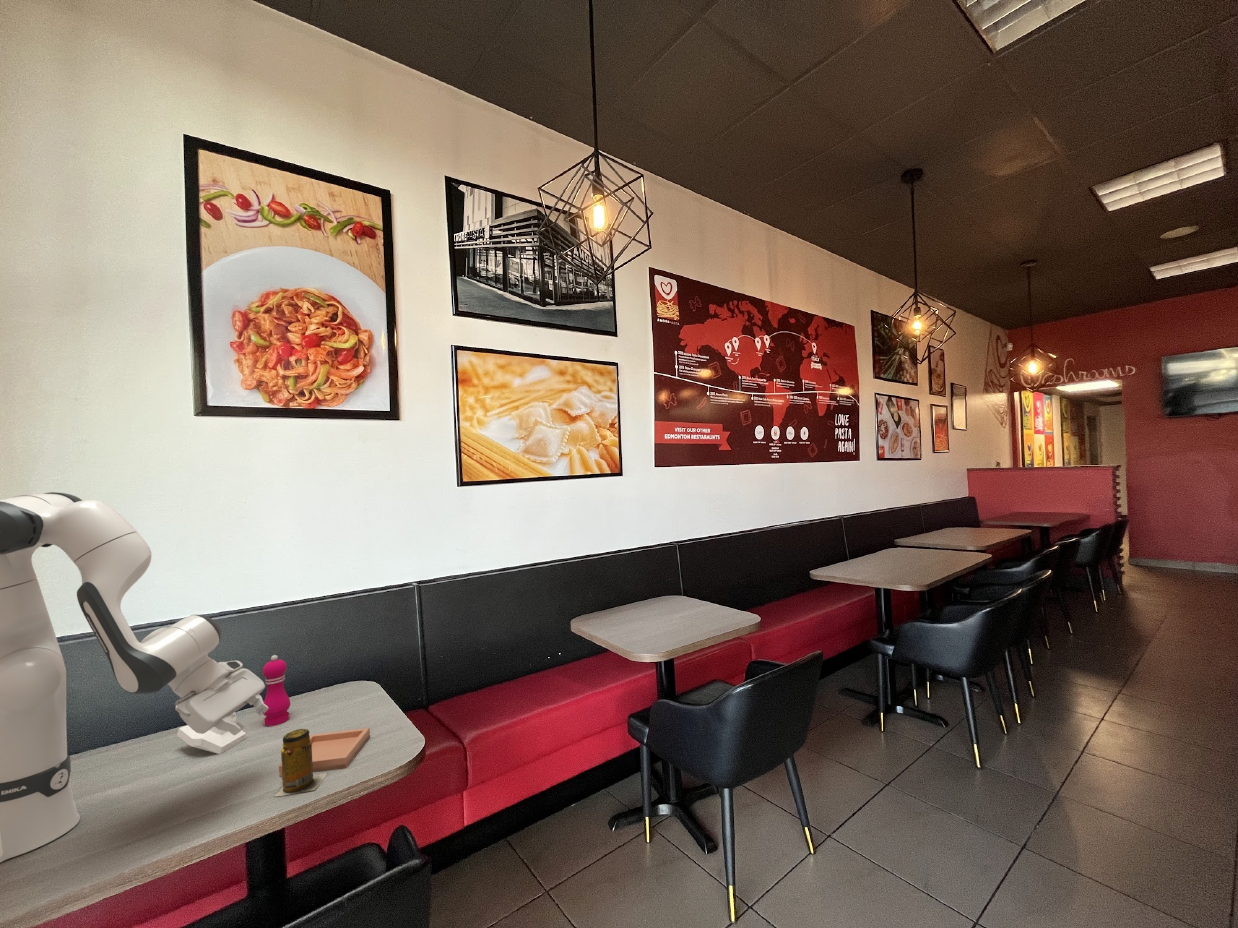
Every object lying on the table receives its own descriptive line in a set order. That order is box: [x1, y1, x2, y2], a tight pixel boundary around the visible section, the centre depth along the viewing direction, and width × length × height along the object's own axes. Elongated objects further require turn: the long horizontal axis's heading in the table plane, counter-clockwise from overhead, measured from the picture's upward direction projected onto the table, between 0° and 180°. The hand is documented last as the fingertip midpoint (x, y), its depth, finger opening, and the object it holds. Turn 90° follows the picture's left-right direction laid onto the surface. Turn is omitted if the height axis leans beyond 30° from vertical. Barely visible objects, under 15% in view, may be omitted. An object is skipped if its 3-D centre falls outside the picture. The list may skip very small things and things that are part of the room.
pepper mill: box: [262, 654, 291, 727], centre depth 154 cm, size 7×7×20 cm
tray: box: [278, 727, 371, 777], centre depth 131 cm, size 15×15×2 cm
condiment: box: [274, 728, 328, 797], centre depth 118 cm, size 7×8×12 cm
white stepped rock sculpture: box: [176, 712, 247, 755], centre depth 141 cm, size 12×15×14 cm
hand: (252, 721), depth 117 cm, fingers open, 8 cm apart
